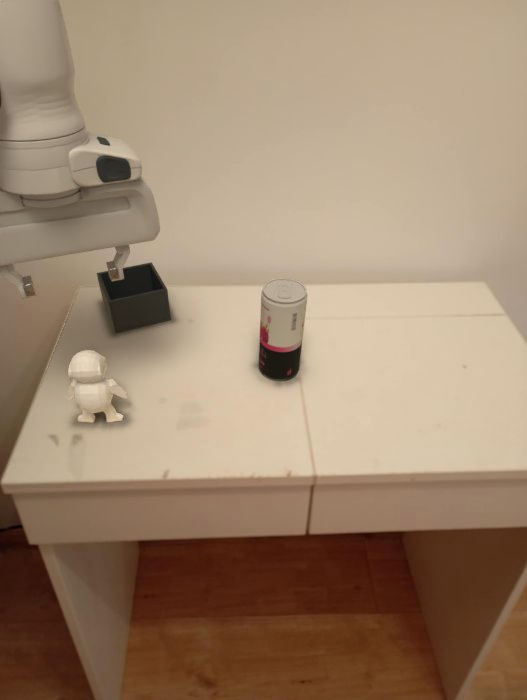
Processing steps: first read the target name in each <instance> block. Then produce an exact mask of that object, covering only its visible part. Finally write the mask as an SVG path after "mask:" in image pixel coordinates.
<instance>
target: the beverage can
mask: <svg viewBox="0 0 527 700" xmlns="http://www.w3.org/2000/svg"><path fill="white" fill-rule="evenodd" d="M260 293H261V295H260V322H259V346H258V347H259V349H258V369H259V371H260V373H261V374H262V375H263V376H265V377H267V378H269V379H271V380H274V381H285V380H290V379H291V378H293V377H295V376H296V375H297V374H298V373H299V371H300V365H301V355H302V347H303V340H304V329H305V322H306V312H307V304H308V292H307V287H306V286H305V285H304V284H303V283H302V282H300V281H299V280H296V279H293V278H289V277H279V278H273V279H270V280H268V281H266V282H265V283H264V284H263V287H262V290H261V292H260Z"/></svg>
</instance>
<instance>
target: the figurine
mask: <svg viewBox="0 0 527 700" xmlns="http://www.w3.org/2000/svg"><path fill="white" fill-rule="evenodd" d="M108 366H109V365H108V364H107V359H106V356H103V355H101V354H100V353H98V352H97V351H95V350H92V349H91V350H90V349H84V350H80V351H79V352H76V353H75V354H74V355H73V356H72V358H71V359H70V363H69V365H68V369H67V375H68V377H69V379H70V380H72V381H71V383H70V384H69V386H68V390H67V393H66V395H67V398H68V399H69V400H70V401H72V399H73V398H75V399H74V400H75V402H76V404H77V406H78V407H79V408H80V409H81V410H82V413H81V414H79V415H78V416H77V419H76V420H77V421H78V422H79V423H80V422H81V423H82V422H83V423H95V420H96V416H95V414H97V413H101V412H102V413H104V415H105V418H106V423H113V422H120V421H121V422H123V419H124V415H123V414H122V413H120V412H119V413H118V412H117V411H116V409H115V407H114V405H113V403H112V400H113V397H114V395H116V396H118V397H120V398H122V399H125V400H127V399H128V393H127V391H125V389H124V388H123V387H121V386H120V385H119V383H117V382H116V381H115V379H113V378H106V377H105V375H106V372H107V369H108Z"/></svg>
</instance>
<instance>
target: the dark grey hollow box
mask: <svg viewBox="0 0 527 700" xmlns="http://www.w3.org/2000/svg"><path fill="white" fill-rule="evenodd" d="M122 268H123V273H124V279H122V280H117V281H112V282H111V279H110V277H109V274H108V270H105V271H100V272H96V276H97V282H98V285H99V291H100V294H101V299H102V304H103V306H104V308H105V311H106V313H107V317H108V319H109V321H110V324H111V327H112V329H113V332H114V334H118V333H122V332H127V331H131V330H134V329H138V328H142V327H146V326H147V327H148V326H151V325H154V324H159V323H163V322H167V321H171V320H172V318H171V307H170V300H169V291H168V288H167V286H166V284H165V282H164V281H163V279H162V277H161V276H160V274H159V272H158V270H157V269H156V267H155V265H154V263H153V262H146V263H142V264H141V263H140V264H136V265H132V266H124V267H122Z"/></svg>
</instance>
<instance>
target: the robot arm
mask: <svg viewBox="0 0 527 700" xmlns="http://www.w3.org/2000/svg"><path fill="white" fill-rule="evenodd" d="M75 74H76V71H75V65H74V58H73V53H72V48H71V44H70V40H69V35H68V31H67V26H66V23H65V18H64V15H63V11H62V8H61V3H60V0H0V276H2V277H3V278H4V279H5V280H7V281H8V282H9V283H11V284H12V285H14V286H15V287H17V289H18V292H19V295H20V298H21V299H24V300H25V299H28V298H34V297H37V291H36V287H35V285H34V282H33V281H34V280H33V278H32V276H31V275H26V276H23V275H22V274H21V273H19V272H18V271H17V270H16V268H15V266H16V265H15V264H21V263H27V262H33V261H40V260H45V259H51V258H52V259H53V258H57V257H63V256H68V255H74V254H81V253H88V252H93V251H100V250H104V249H111V248H114V250H115V251H116V252H115V254H114V258H113V260H110V261H106V268H107V271H108V274H109V277H110V279H111V282H112V281H117V280H122V279H124V273H123V268H125V265H126V262H127V261H128V258H129V256H130V254H131V249H130V248H131V247H130V245H134V244H140V243H146V242H147V243H148V242H152V241H155V240H156V238H157V237H158V236H159V234H160V232H161V224H160V217H159V212H158V208H157V204H156V201H155V197H154V194H153V191H152V189H151V187H150V186H149V184H148V183H147V182H146V180H145V179H144V177H143V176H142V175H143V166H142V165H143V164H142V163H141V162H142V161H141V159H140V157H139V155H138V153H137V152H136V150H135V149H134V148H133V147H132V146H131V145H130V144H129V143H128V142H126V141H125V140H123V139H121V138H117V137H114V136H113V137H112V136H109V135H104V134H99V133H95V132H90V131H87V127H86V122H85V119H84V116H83V113H82V111H81V110H80V107H79V105H78V103H77V99H76V95H75V76H76V75H75Z"/></svg>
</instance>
